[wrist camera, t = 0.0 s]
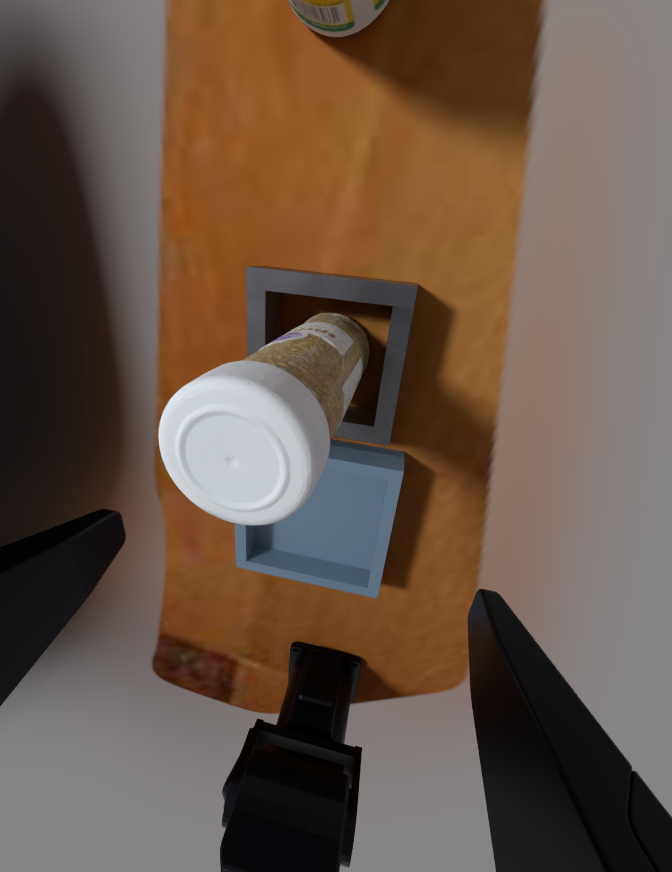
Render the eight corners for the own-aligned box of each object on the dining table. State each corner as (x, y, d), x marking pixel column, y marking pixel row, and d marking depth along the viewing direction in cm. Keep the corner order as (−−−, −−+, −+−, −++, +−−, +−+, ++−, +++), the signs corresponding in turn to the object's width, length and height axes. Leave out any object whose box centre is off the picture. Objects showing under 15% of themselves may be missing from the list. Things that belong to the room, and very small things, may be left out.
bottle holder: (391, 428, 23) (389, 445, 21) (263, 406, 24) (248, 421, 22) (417, 283, 19) (417, 286, 17) (264, 266, 20) (246, 266, 18)
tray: (380, 572, 28) (377, 598, 26) (249, 543, 29) (236, 566, 27) (404, 451, 23) (403, 471, 21) (248, 424, 25) (231, 441, 22)
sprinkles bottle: (340, 294, 20) (233, 339, 8) (385, 362, 21) (351, 491, 9) (279, 342, 22) (118, 437, 10) (324, 402, 23) (229, 554, 11)
